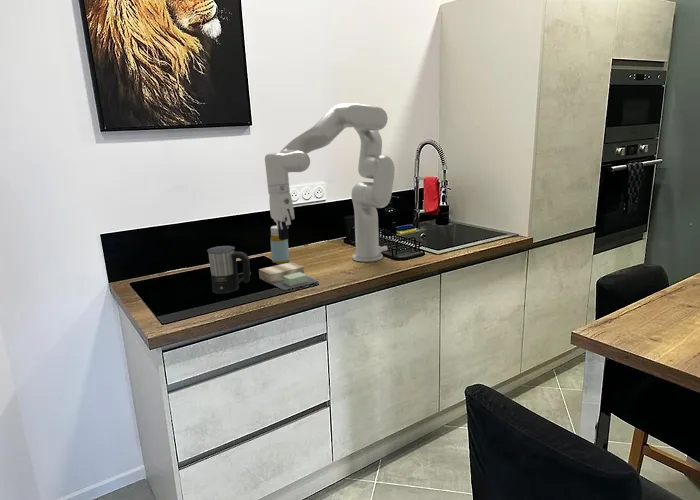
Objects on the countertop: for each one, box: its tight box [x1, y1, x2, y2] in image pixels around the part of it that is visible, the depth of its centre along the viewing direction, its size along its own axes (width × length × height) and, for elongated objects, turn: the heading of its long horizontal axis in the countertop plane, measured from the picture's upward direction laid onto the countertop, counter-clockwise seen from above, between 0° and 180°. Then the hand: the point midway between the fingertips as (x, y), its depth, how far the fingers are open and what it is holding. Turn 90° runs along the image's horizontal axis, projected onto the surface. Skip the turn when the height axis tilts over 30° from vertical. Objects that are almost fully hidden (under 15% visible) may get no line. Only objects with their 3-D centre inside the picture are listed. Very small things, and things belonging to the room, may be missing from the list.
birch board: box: [258, 261, 305, 285], centre depth 180 cm, size 14×9×4 cm, turn 126°
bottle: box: [270, 225, 290, 265], centre depth 198 cm, size 7×7×15 cm
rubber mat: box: [270, 275, 320, 291], centre depth 172 cm, size 14×10×1 cm
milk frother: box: [206, 245, 252, 294], centre depth 170 cm, size 14×16×15 cm
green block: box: [283, 272, 308, 286], centre depth 172 cm, size 7×5×2 cm
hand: (284, 239), depth 175 cm, fingers closed
